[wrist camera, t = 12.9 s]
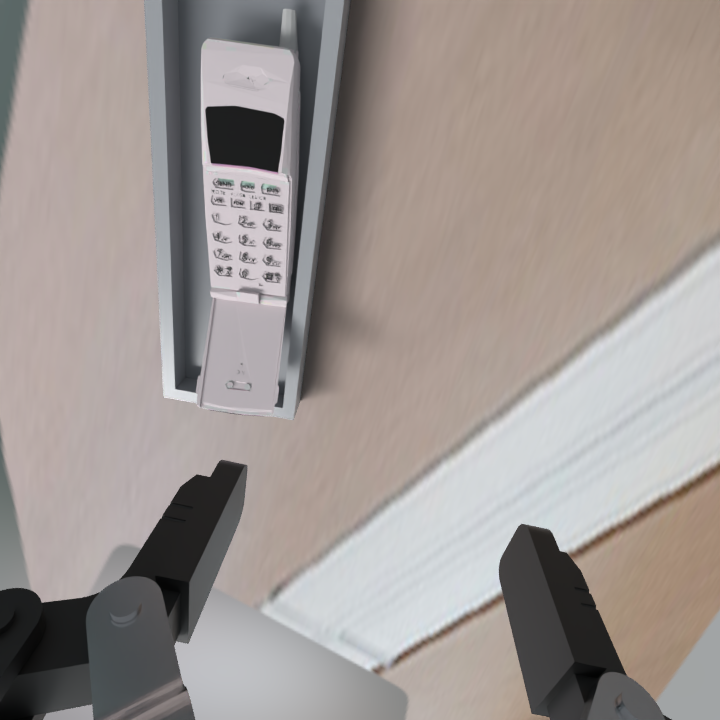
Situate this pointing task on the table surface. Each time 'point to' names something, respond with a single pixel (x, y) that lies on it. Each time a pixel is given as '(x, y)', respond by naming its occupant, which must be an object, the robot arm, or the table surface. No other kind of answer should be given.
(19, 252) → the table surface
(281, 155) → the mobile phone
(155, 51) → the phone dock
